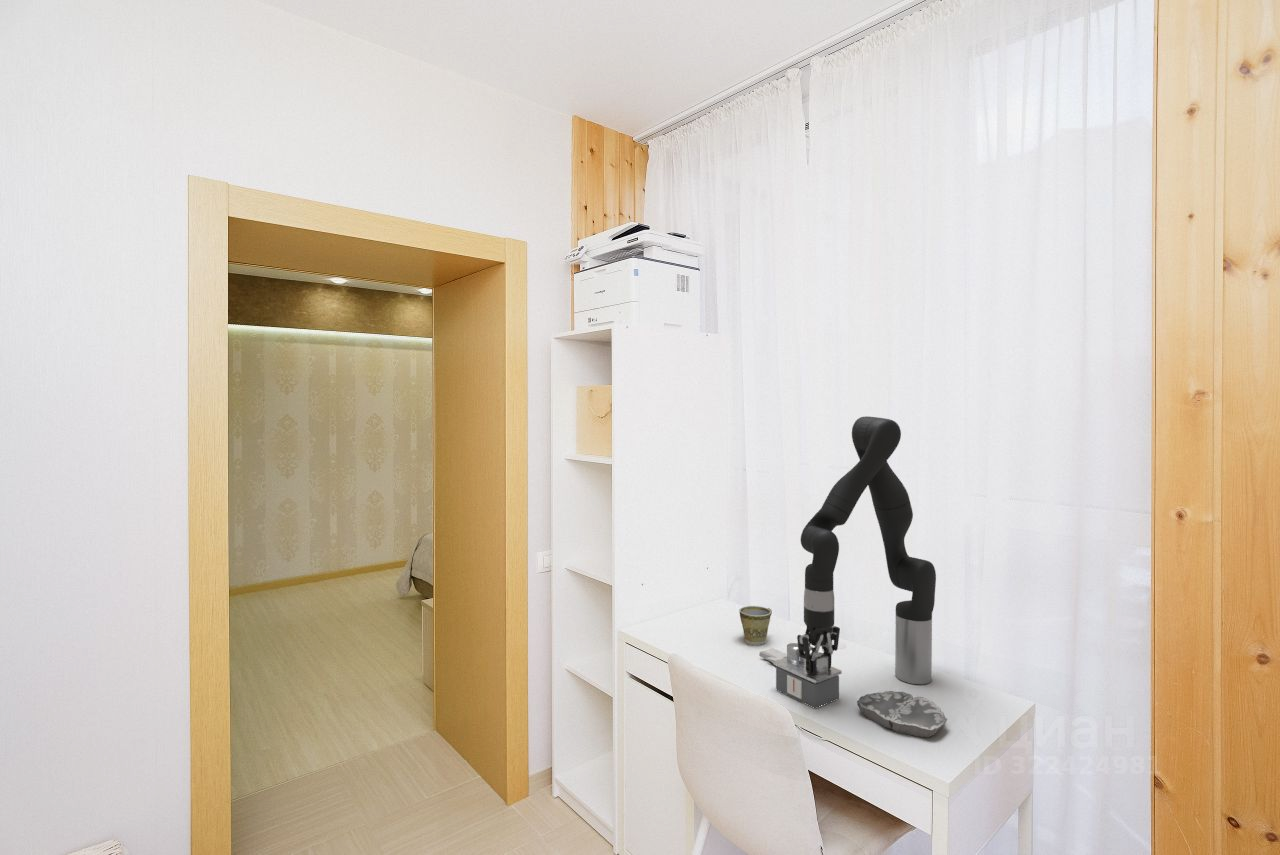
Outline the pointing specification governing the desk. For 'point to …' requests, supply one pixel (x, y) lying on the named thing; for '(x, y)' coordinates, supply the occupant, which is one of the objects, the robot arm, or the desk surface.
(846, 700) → the desk surface
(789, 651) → the cylinder
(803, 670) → the pan
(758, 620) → the ceramic cup
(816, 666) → the cylinder
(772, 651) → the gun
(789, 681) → the scale
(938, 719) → the brain slice
